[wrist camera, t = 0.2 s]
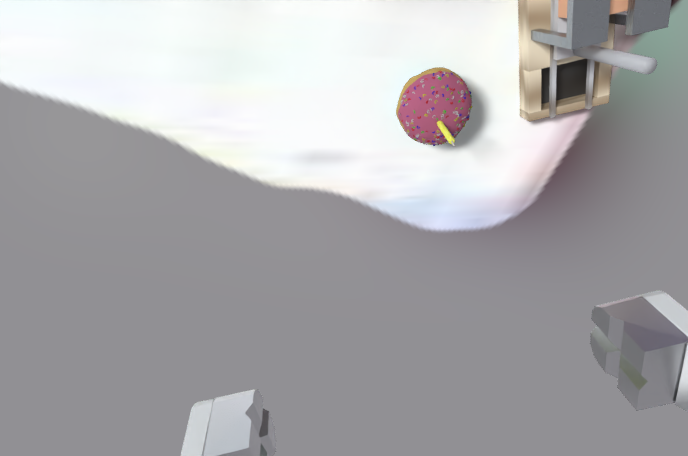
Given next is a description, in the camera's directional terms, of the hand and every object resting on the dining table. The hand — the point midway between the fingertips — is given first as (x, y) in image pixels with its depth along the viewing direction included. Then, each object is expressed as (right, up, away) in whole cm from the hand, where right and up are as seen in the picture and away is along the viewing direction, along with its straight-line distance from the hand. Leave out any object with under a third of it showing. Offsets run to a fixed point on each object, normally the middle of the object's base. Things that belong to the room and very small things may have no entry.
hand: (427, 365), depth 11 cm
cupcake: (+8, +19, +45) cm, 50 cm away
